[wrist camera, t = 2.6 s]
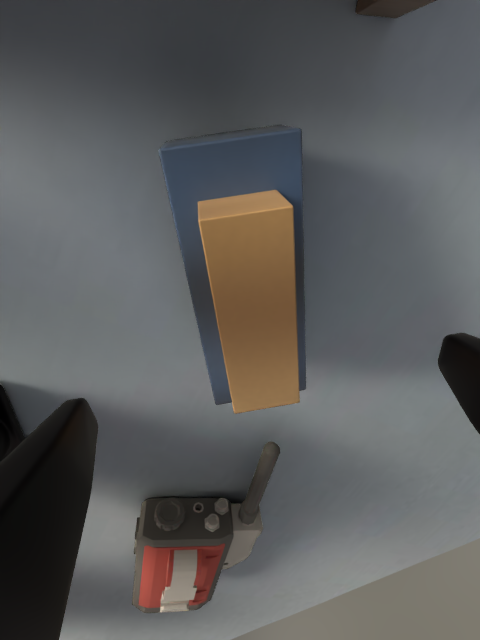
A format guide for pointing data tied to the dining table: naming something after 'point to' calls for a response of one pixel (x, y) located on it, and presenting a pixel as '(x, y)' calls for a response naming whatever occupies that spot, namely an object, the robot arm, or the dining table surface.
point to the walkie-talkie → (194, 543)
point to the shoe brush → (244, 258)
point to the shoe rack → (389, 7)
